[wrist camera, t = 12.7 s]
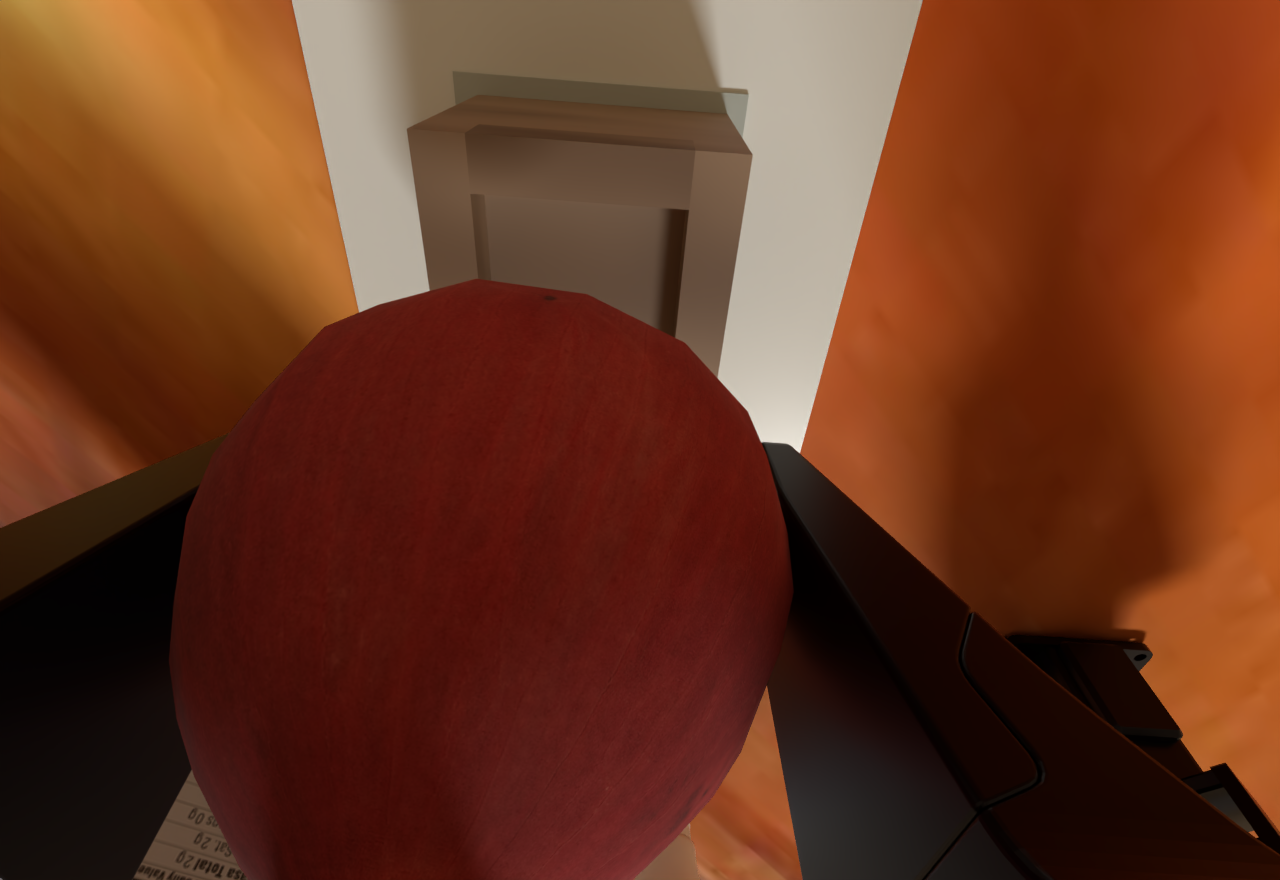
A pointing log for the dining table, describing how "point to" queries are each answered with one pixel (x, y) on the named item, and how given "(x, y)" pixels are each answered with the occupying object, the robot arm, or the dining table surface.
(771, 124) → the build plate
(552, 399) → the onion
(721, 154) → the cup brick
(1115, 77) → the dining table surface
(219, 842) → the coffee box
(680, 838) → the lightbulb
